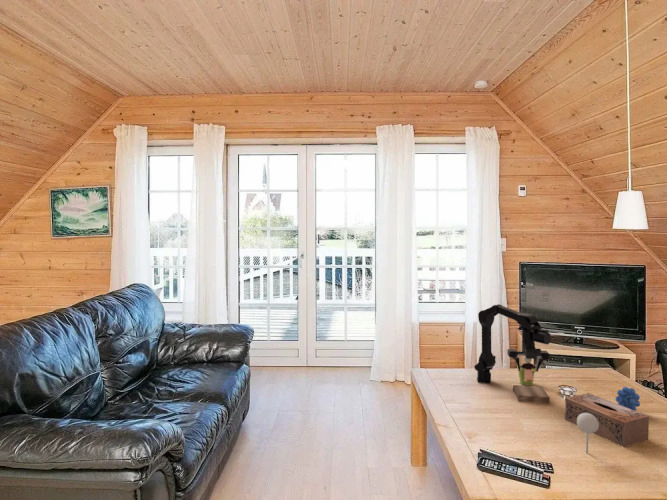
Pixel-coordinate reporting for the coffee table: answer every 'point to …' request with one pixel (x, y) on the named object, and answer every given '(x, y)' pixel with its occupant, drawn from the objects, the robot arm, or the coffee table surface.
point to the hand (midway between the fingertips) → (528, 371)
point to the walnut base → (531, 394)
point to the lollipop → (587, 425)
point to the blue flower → (628, 398)
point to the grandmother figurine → (528, 370)
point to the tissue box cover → (609, 419)
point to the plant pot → (522, 377)
